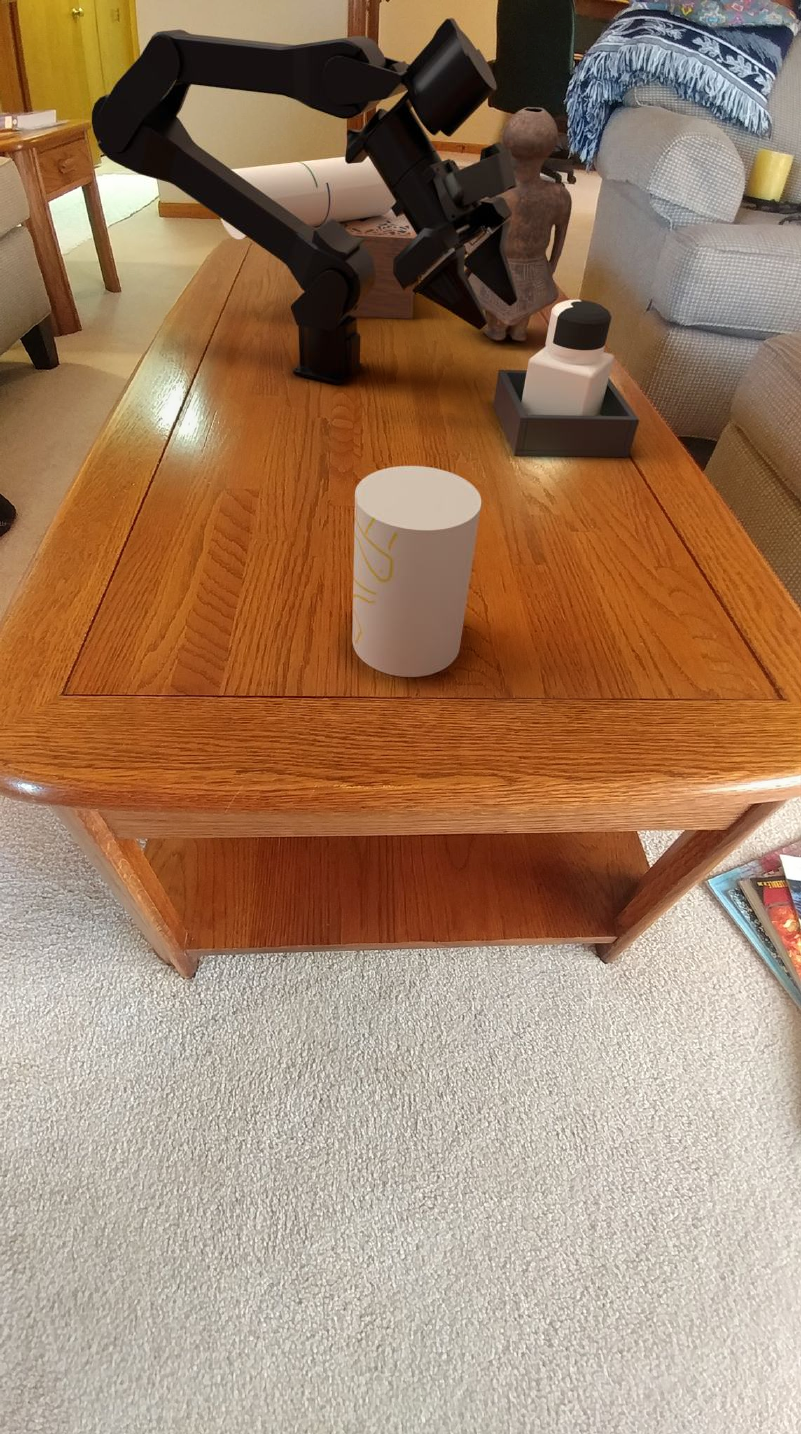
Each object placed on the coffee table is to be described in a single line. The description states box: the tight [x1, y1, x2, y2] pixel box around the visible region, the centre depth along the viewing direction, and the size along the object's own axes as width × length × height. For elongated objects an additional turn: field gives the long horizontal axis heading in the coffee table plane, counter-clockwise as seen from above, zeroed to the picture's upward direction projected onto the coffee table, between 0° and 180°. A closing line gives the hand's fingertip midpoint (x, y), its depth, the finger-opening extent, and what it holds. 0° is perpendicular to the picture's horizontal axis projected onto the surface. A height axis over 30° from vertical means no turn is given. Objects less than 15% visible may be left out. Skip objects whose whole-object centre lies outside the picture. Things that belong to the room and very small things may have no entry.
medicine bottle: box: [521, 299, 615, 416], centre depth 80 cm, size 7×7×12 cm
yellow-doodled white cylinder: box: [351, 465, 482, 678], centre depth 53 cm, size 8×8×12 cm
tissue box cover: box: [315, 201, 417, 320], centre depth 113 cm, size 26×14×10 cm, turn 3°
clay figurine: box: [464, 106, 573, 342], centre depth 96 cm, size 13×10×25 cm
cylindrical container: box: [220, 156, 395, 240], centre depth 99 cm, size 7×7×25 cm
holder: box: [492, 369, 640, 458], centre depth 83 cm, size 13×13×4 cm
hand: (499, 314), depth 81 cm, fingers open, 9 cm apart
